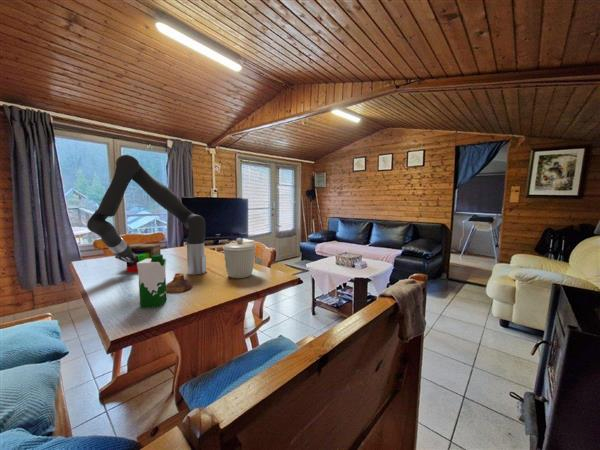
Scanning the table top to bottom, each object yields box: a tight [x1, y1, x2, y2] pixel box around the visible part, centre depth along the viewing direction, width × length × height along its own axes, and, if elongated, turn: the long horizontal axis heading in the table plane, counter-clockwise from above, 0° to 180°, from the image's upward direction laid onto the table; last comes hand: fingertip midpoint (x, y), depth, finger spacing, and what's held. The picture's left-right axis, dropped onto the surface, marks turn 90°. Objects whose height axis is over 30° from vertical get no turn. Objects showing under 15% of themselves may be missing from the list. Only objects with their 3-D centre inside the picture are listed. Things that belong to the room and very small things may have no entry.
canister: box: [222, 237, 257, 279], centre depth 143 cm, size 18×18×21 cm
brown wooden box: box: [125, 243, 161, 263], centre depth 155 cm, size 16×8×14 cm, turn 90°
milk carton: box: [137, 254, 168, 309], centre depth 104 cm, size 9×9×20 cm
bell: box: [166, 272, 193, 294], centre depth 123 cm, size 12×12×7 cm
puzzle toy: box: [126, 251, 151, 273], centre depth 153 cm, size 10×10×10 cm
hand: (135, 264), depth 147 cm, fingers closed
